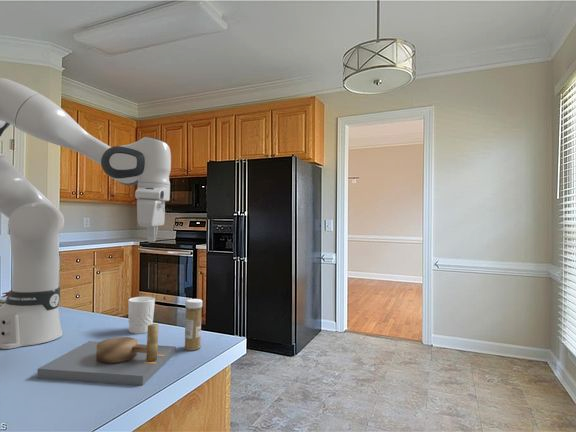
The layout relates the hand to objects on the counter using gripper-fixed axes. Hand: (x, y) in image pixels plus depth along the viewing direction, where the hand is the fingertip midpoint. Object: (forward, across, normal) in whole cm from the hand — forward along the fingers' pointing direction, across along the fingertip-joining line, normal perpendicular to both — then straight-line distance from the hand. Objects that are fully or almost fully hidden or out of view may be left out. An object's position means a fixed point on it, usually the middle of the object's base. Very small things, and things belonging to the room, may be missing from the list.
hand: (151, 241), depth 102 cm
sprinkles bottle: (+29, +5, +13) cm, 32 cm away
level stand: (+29, +15, -5) cm, 33 cm away
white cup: (+29, -12, -4) cm, 32 cm away
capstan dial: (+27, +16, -1) cm, 31 cm away
